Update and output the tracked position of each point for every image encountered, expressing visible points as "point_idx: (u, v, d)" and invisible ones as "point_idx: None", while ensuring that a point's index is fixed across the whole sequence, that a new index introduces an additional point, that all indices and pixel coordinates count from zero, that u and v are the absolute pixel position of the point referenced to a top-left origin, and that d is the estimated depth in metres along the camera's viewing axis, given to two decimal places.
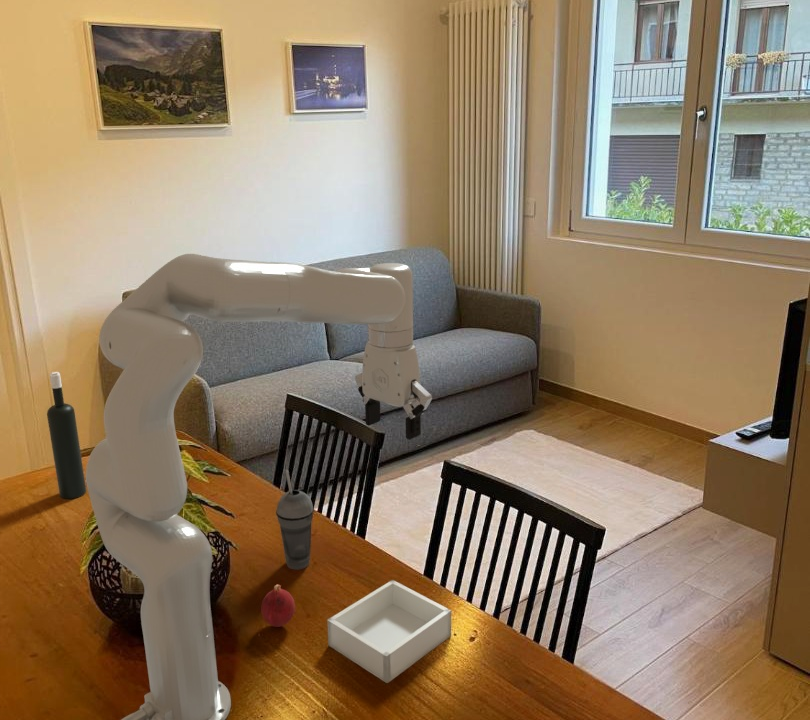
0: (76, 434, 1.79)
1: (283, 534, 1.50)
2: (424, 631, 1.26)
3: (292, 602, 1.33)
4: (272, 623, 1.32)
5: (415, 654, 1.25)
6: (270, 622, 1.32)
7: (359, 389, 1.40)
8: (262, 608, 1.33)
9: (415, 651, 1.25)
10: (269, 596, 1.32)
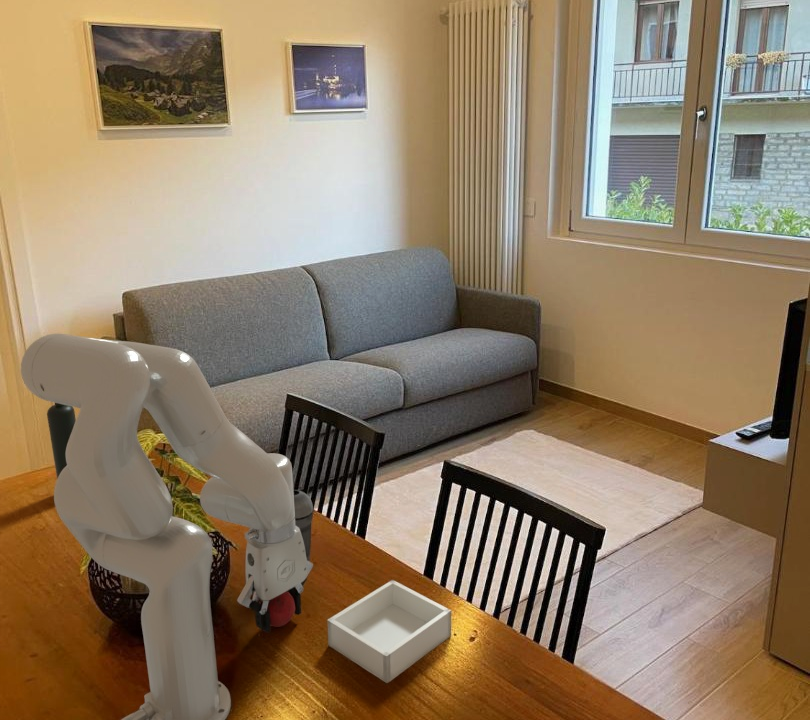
0: None
1: None
2: (424, 631, 1.26)
3: (292, 602, 1.33)
4: (272, 623, 1.32)
5: (415, 654, 1.25)
6: None
7: (253, 606, 1.28)
8: None
9: (415, 651, 1.25)
10: None
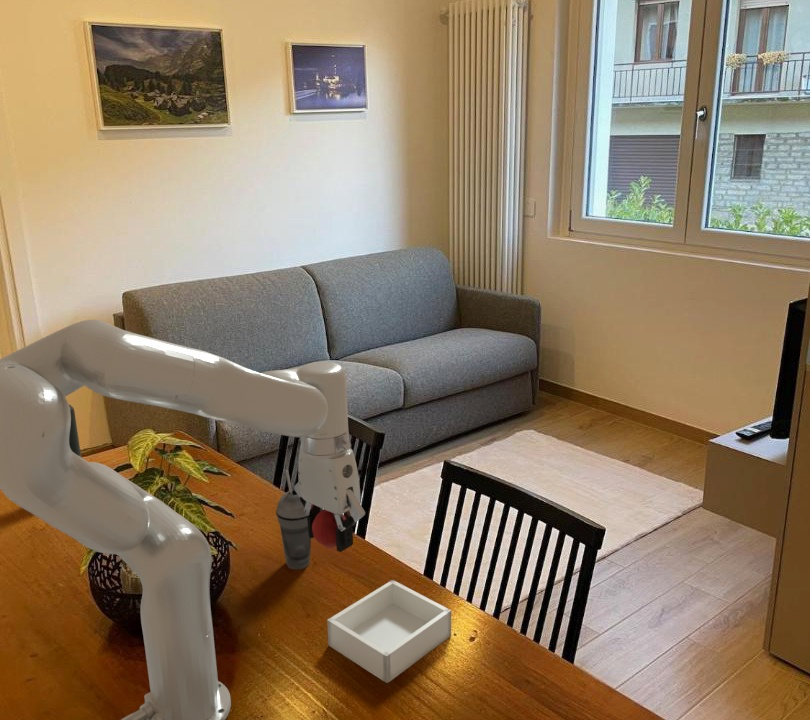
0: (76, 434, 1.79)
1: (283, 534, 1.50)
2: (424, 631, 1.26)
3: None
4: None
5: (415, 654, 1.25)
6: None
7: None
8: None
9: (415, 651, 1.25)
10: None
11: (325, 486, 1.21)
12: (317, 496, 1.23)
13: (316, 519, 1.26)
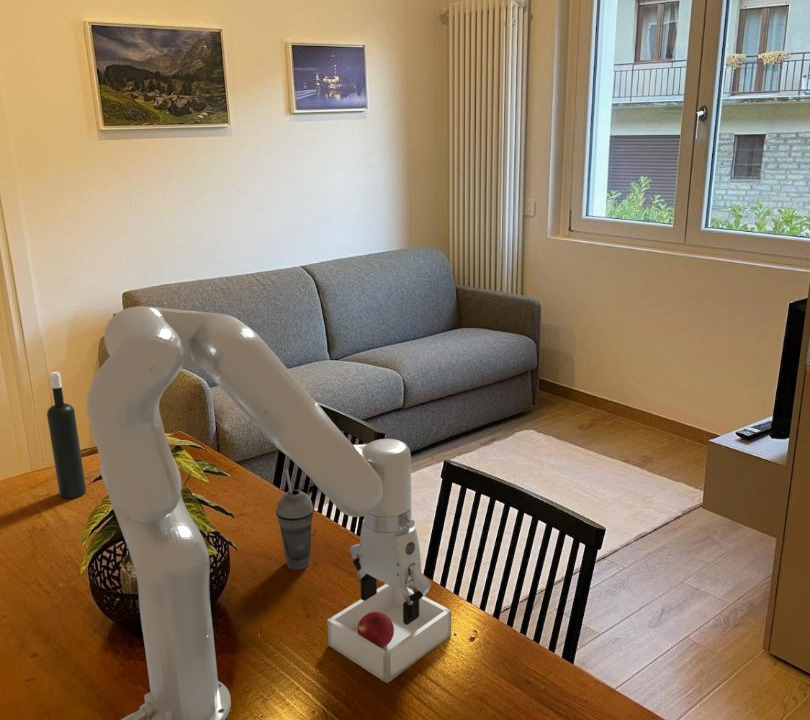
0: (76, 434, 1.79)
1: (283, 534, 1.50)
2: (424, 631, 1.26)
3: None
4: (393, 630, 1.27)
5: (415, 654, 1.25)
6: (393, 632, 1.27)
7: None
8: (382, 642, 1.25)
9: (415, 651, 1.25)
10: (372, 634, 1.24)
11: (387, 562, 1.23)
12: (379, 570, 1.25)
13: None
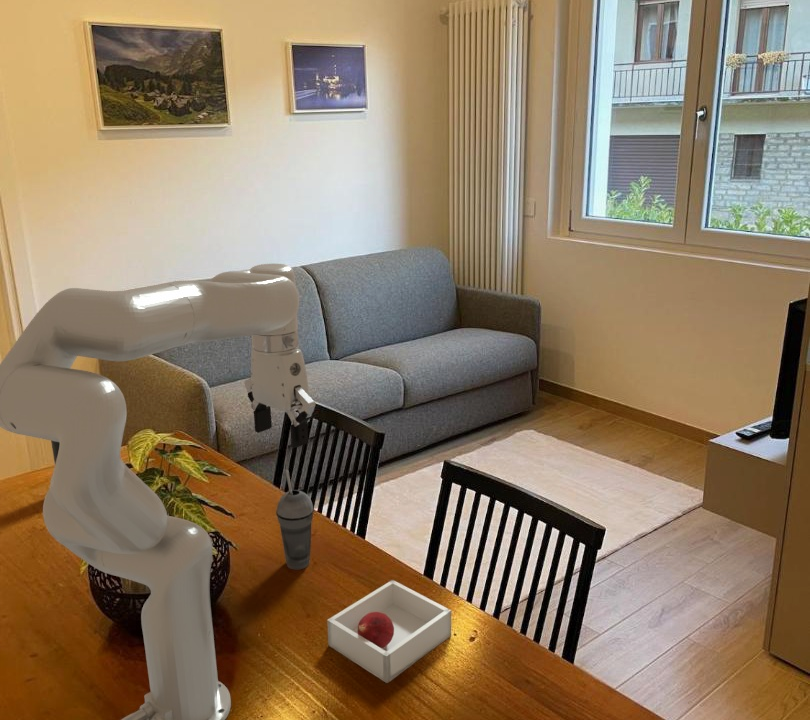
0: None
1: (283, 534, 1.50)
2: (424, 631, 1.26)
3: None
4: (393, 630, 1.27)
5: (415, 654, 1.25)
6: (393, 632, 1.27)
7: None
8: (382, 642, 1.25)
9: (415, 651, 1.25)
10: (372, 634, 1.24)
11: (274, 384, 1.26)
12: (267, 395, 1.28)
13: None
